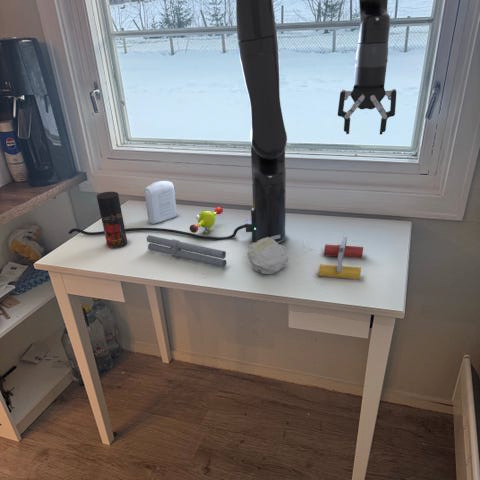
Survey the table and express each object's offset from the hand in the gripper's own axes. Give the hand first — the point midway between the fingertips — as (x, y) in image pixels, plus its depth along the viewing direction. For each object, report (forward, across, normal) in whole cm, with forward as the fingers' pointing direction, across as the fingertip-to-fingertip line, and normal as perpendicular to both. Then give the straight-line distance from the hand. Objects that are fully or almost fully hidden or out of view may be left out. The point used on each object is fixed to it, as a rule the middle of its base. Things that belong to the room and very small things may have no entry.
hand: (364, 133), depth 123 cm
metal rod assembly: (+28, +44, +25) cm, 58 cm away
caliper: (+25, +2, +22) cm, 33 cm away
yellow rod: (+28, +2, +28) cm, 40 cm away
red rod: (+28, +2, +16) cm, 32 cm away
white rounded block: (+28, +62, -2) cm, 68 cm away
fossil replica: (+28, +20, +27) cm, 44 cm away
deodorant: (+28, +68, +19) cm, 76 cm away
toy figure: (+28, +44, +6) cm, 53 cm away
